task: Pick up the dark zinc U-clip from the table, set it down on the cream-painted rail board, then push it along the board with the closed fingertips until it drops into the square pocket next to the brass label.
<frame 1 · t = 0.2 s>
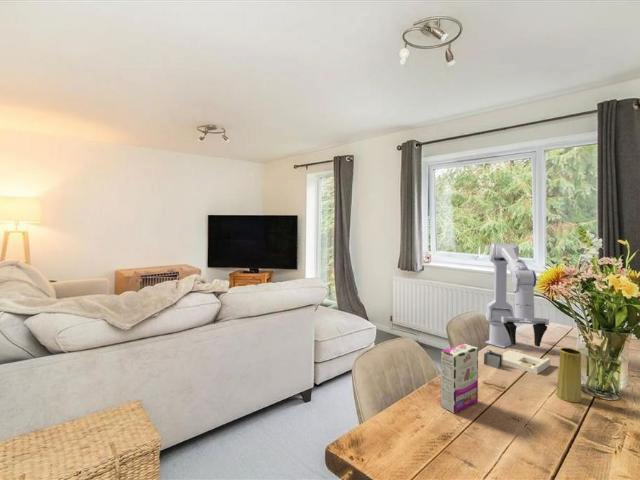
hand: (525, 345, 116), 10 cm above the table, tool pointing down, fingers open, 7 cm apart
candy bar box: (458, 405, 98), on the table
vase: (568, 398, 102), on the table
clip: (493, 364, 125), on the table
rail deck: (522, 363, 127), on the table
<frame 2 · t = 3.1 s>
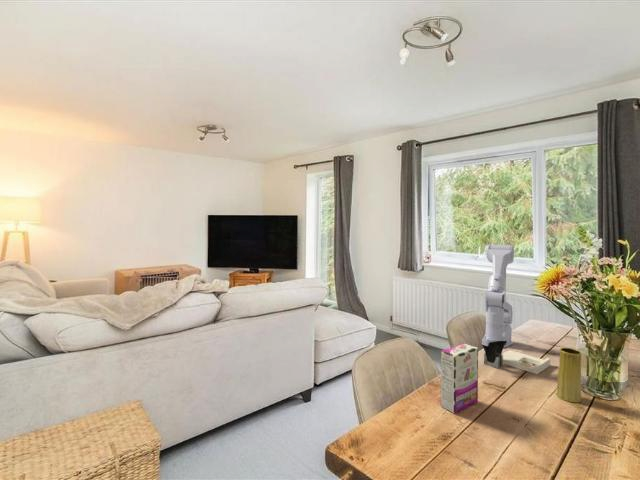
hand: (493, 360, 125), 2 cm above the table, tool pointing down, fingers closed on clip, 4 cm apart
clip: (493, 364, 125), on the table, touching gripper
everything else where it was.
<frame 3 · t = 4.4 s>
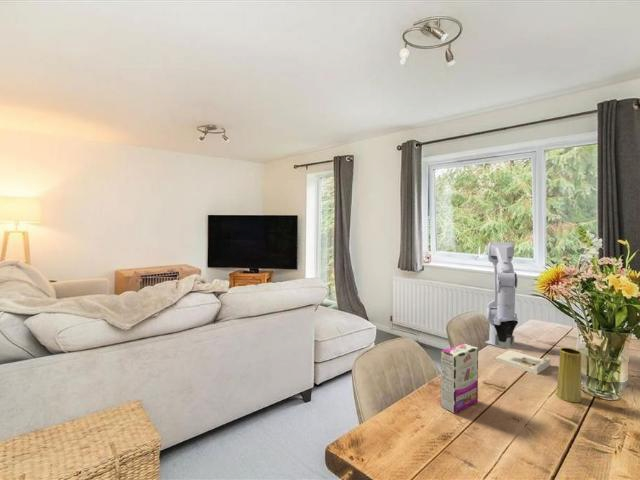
hand: (504, 340, 128), 8 cm above the table, tool pointing down, fingers closed on clip, 4 cm apart
clip: (504, 345, 128), point 6 cm above the table, touching gripper
everything else where it was.
when the fingers open (4 cm above the table, at t = 6.4 s): clip moves 1 cm, point 2 cm above the table.
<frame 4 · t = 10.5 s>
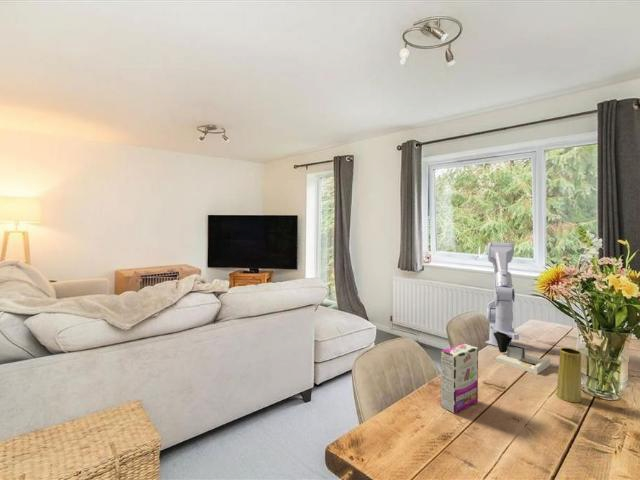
hand: (502, 351, 132), 2 cm above the table, tool pointing down, fingers closed
clip: (515, 357, 129), point 2 cm above the table, touching gripper
everything else where it was.
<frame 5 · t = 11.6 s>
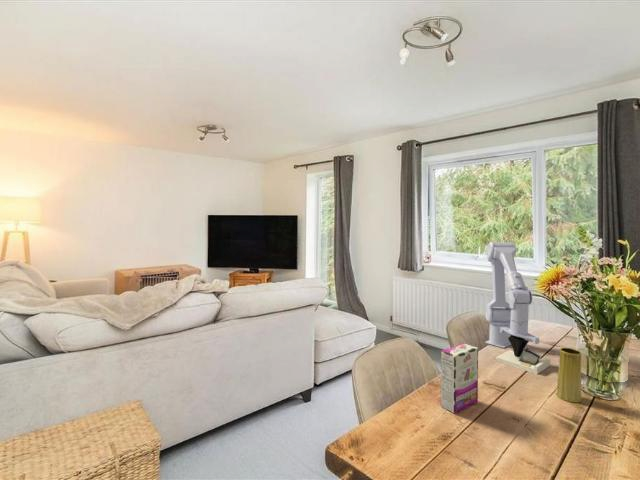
hand: (518, 356, 128), 2 cm above the table, tool pointing down, fingers closed
clip: (527, 361, 126), point 1 cm above the table, tilted 21°, touching gripper
everything else where it was.
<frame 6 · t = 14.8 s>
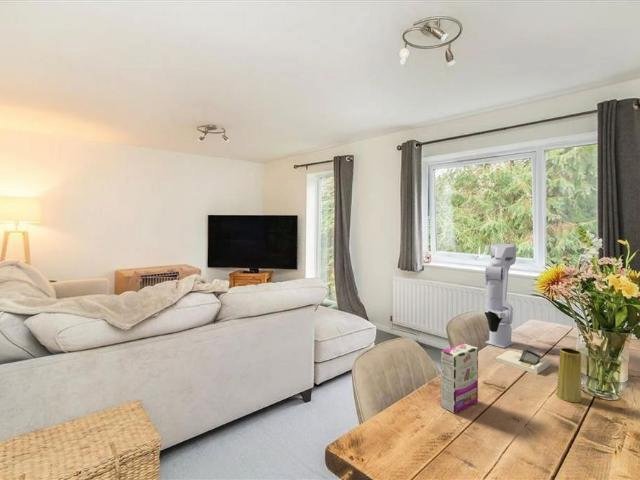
hand: (493, 331, 133), 10 cm above the table, tool pointing down, fingers closed
clip: (528, 362, 126), point 1 cm above the table, tilted 17°, touching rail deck
everything else where it was.
at the end: clip 1.1 cm from the target spot on the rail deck, point 0.8 cm above the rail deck's base; clip tilted 17°; the gripper is holding nothing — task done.
